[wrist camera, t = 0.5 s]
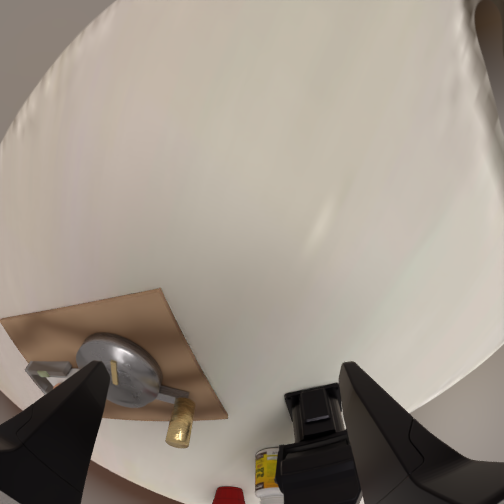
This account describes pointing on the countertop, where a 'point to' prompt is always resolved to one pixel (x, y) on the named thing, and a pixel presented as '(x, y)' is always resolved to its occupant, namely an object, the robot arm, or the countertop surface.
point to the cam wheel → (138, 381)
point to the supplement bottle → (267, 477)
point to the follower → (61, 378)
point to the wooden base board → (123, 324)
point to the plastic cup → (229, 496)
